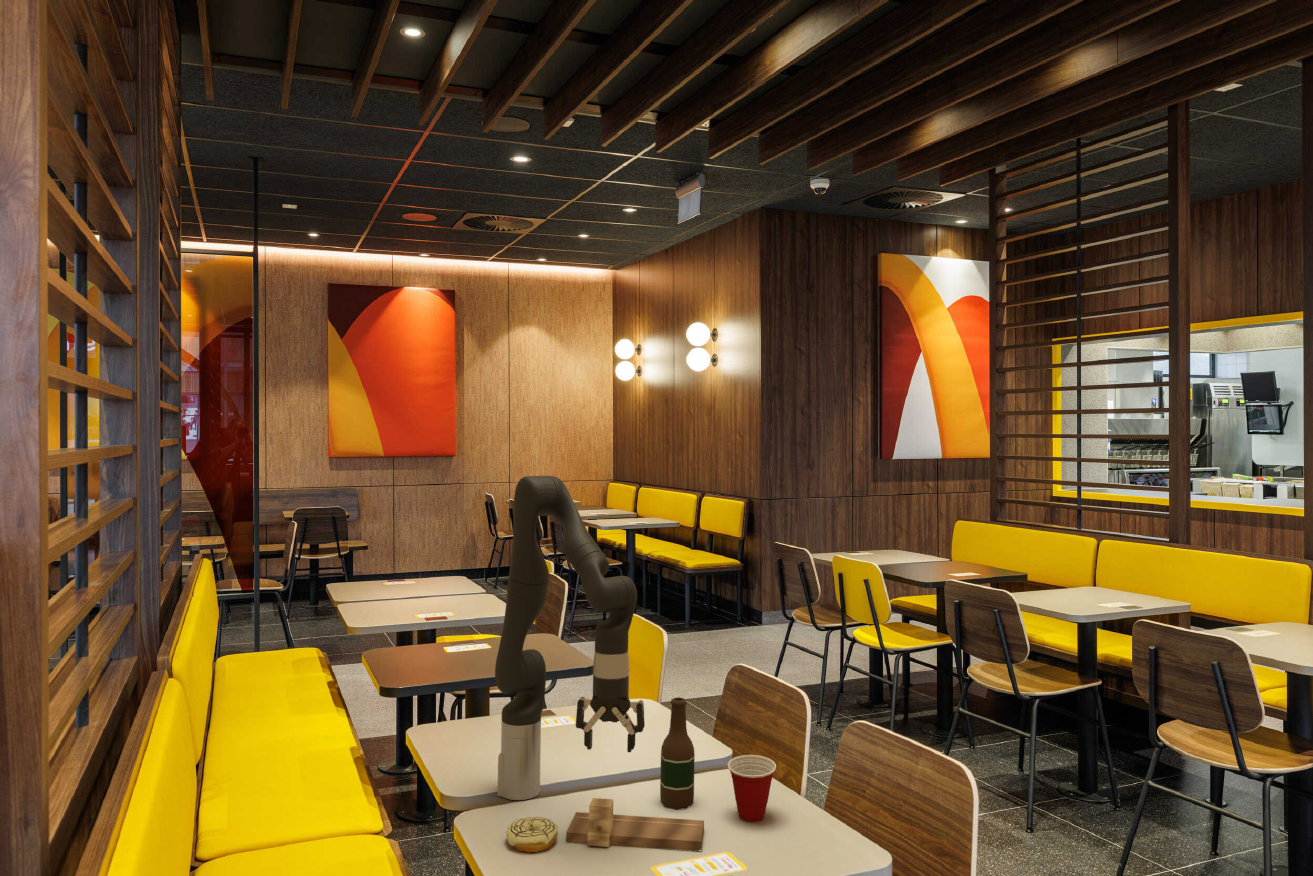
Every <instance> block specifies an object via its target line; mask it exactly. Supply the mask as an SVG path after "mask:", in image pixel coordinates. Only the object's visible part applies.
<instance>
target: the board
mask: <svg viewBox="0 0 1313 876" xmlns="http://www.w3.org/2000/svg"><path fill="white" fill-rule="evenodd" d="M704 831H705V820H703V819H700V820H699V819H689V818H688V819H686V818H674V817H673V818H671V817H670V818H669V817H655V816H642V815H641V816H640V815H638V816H637V815H628V814H627V815H624V814H613V829H612V832H611V834H610V845H609V846H621V847H633V848H648V849H663V850H665V849H666V850H674V849H677V850H676V851H679V850H678V849H682V850H681V851H688V850H701V851H702V848H703V841H702V840H704V834H705V833H704ZM588 833H589V812H580V811H579V812H578V811H576V812H575V813H574V815H573V818H572V820H571V822H570V824H569V826H568V828H567V830H566V835H565V842H566V841H567V842H566V843H574V842H581V843H580V844H587V843H588Z"/></svg>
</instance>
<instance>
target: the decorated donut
mask: <svg viewBox="0 0 1313 876" xmlns="http://www.w3.org/2000/svg"><path fill="white" fill-rule="evenodd" d="M505 833H506V838H507V842H508V844H509V845H510V846H511V847H513V848H514V849H515V850H517V849H518V850H521V851H520V852H522V851H526V852H525V853H529V852H536V853H538V852H537V851H540V852H542V851H546V850H547V849H549V848H551V846H552V845H553V844H554V843H555V841H556V840H557V837H558V834H559V833H558V825H557V823H555V822H554V821H553V820H551V819H550V818H549V819H548V818H546V817H542V816H540V817H539V816H534V817H532V816H529V817H523V818H519V819H516V820H514V821H513V822H511V823H510V824H509V825H507V827H506V831H505ZM518 850H517V851H518Z"/></svg>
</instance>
